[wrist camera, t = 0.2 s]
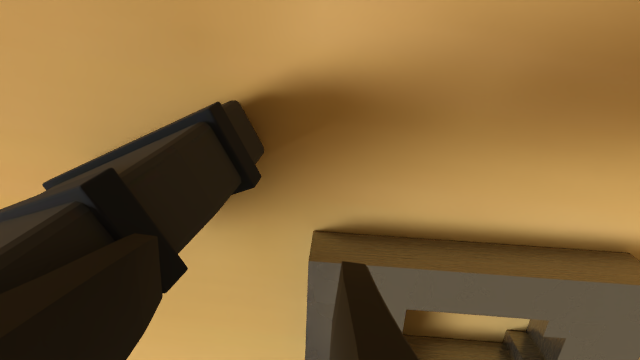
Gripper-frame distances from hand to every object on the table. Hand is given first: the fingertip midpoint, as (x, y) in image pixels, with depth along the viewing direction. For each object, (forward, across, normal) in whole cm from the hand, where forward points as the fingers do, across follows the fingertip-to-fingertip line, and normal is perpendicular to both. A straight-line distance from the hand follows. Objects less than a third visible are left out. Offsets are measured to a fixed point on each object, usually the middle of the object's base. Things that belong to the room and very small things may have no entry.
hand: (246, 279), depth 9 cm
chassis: (+10, -11, +9) cm, 17 cm away
